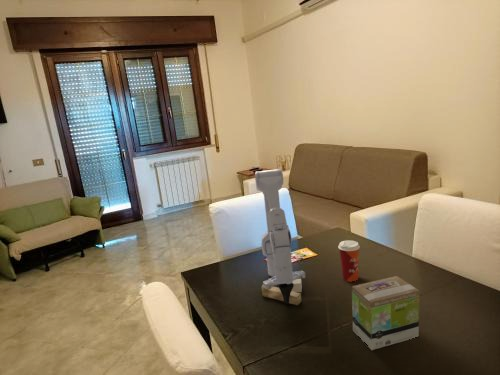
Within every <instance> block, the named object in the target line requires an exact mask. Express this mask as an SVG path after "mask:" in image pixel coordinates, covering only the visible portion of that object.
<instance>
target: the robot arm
mask: <svg viewBox="0 0 500 375" xmlns="http://www.w3.org/2000/svg"><path fill="white" fill-rule="evenodd" d="M254 178H255V179H254V180H255V186H256V190H257V191H258V192H262V194H263V200H264V210H265V218H266V228H267V230H266V231H265V232H264V233H263V234H262V235H261V237H260V238H261V249H262V250H261V251H262V254H263V256H265V257H266V264H267V265H266V266H267V274H268V276H270V277H271V278H268V279H266V280H264V281H262V285H263V287H264V288H265V289H268V288H269V287H272V286H273V287H277V288H279V289H280V291H281V293H282V295H283V299H284V301H283V302H284V303H285V304H286V305H289V304H290V303H289V297H290V293H291V291H292V289H293V287H294V284H293V283H292V281H293V280H296V279H306V271H303V270H298V271H297V270H296V271H293V263H292V262H293V261H292V251H291V246H292V245H293V244H292V242H293V239H292V234H291V230H290V227H289V225H288V223H287V219H286V214H285V213H286V212H285V210H284V209H282V208H281V204H280V194H279V193H280V192H279V191H280V190H281V189H282V188H283V185H284V174H283V170H282V169H281V168H277V169H270V170H269V169H268V170H260V171H257V170H256V171H255V173H254Z"/></svg>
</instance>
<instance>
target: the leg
mask: <svg viewBox="0 0 500 375" xmlns="http://www.w3.org/2000/svg"><path fill="white" fill-rule="evenodd" d="M261 293H262V294H261V295H262V297H264V298H270V299H274V300H277V301H280V302H284V299H283V295H282V293H281V291H280V289H279V287H278V286H272V287H269V288H268V289H265V288H264V287H263V284H262V285H261ZM301 302H302V292H293V291H291V293H290V297H289V303H288V304H291V305H295V306H298V305H300V304H301Z"/></svg>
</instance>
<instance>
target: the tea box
mask: <svg viewBox="0 0 500 375" xmlns="http://www.w3.org/2000/svg"><path fill="white" fill-rule="evenodd" d="M351 307H352V310H351V312H352V331H353V332H354V333H355V334H356V336H357V337H358V336H359V337H360V338H361V339H360V338H359V337H358V338H359V339H360V340H361V341H362V342H363V343H364V342H365V343H366V344H367V345H368V346H367V345H366V344H365V343H364V344H365V345H366V346H367V347H368V348H369V350H370V351H375V350H377V349H381V348H384V347H388V346H391V345H395V344H398V343H402V342H405V341H409V339H410V340H413V339H412V338H414V339H416V338H415V337H418V336H419V332H420V330H419V329H420V290H419V289H418V288H416V287H414V286H413V285H412V284H410V283H409V282H407V281H405V280H404V279H402V278H401V277H399V276H398V275H395V276H390V277H386V278H381V279H377V280H372V281H368V282H365V283H364V282H363V283H359V284H355V285H352V286H351ZM418 338H419V337H418Z"/></svg>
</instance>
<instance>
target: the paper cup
mask: <svg viewBox="0 0 500 375" xmlns="http://www.w3.org/2000/svg"><path fill="white" fill-rule="evenodd" d="M337 247H338V249H339V256H340V267H341V273H342V274H341V275H342V279H343V281H345V282H347V281H348V283H353V282H352V281H355V282H357V281H358V280H359V267H360V266H359V264H360V263H359V262H360V248H361V246H360V244H359V242H358V241H356V240H342V241H340V242H339V244H338V246H337ZM356 280H357V281H356Z"/></svg>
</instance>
